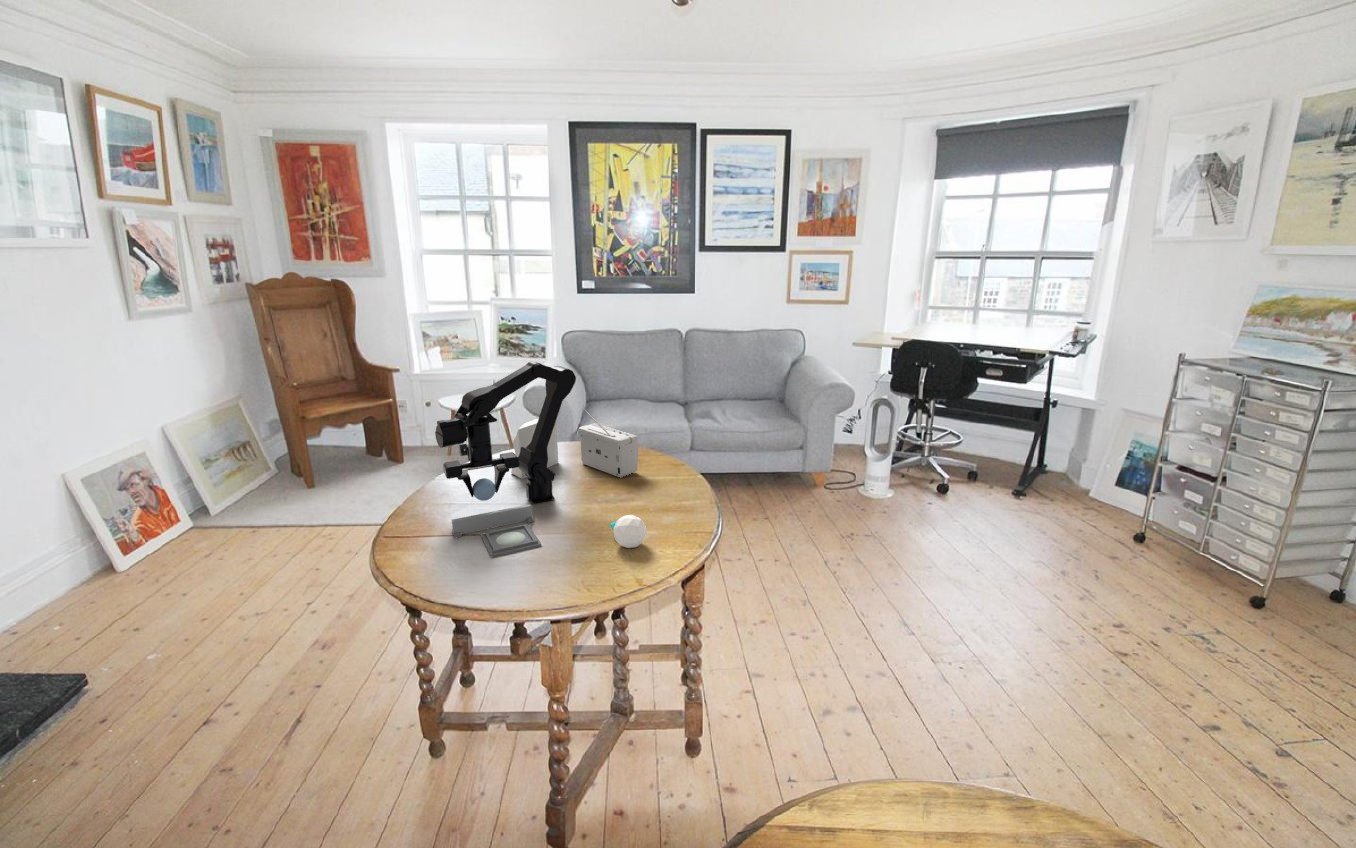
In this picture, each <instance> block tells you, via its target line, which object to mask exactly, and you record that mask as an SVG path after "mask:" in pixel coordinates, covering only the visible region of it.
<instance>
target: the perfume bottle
mask: <svg viewBox="0 0 1356 848" xmlns="http://www.w3.org/2000/svg"><path fill="white" fill-rule="evenodd" d="M610 528H611V529H612V530H613V538H614V540H615V541H616V542H617V544H618V545H619V546H621V547H624V548H626V549H631V548H633V549H634V548H637V547H639V546H640V545H641V544H642V543H643V542H644V540H645V538H646V535H647V527H646V523H644V521H643V520H642V519H641V517H638V516H636V515H634V514H629V515H628V514H627V515H622V517H620V518H619V519H617V520H616V521H613V522H611V523H610Z"/></svg>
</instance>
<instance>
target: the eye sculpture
mask: <svg viewBox="0 0 1356 848" xmlns="http://www.w3.org/2000/svg"><path fill="white" fill-rule="evenodd" d="M538 419H539V418H535V419H532V420H530V421H527V422H525V423H523V424H522V425H521V426H520V427H519V428H518V430H517V432H516V434H515V436H514V438H513V440H512V446H513V450H514V454H515V455H516V456H517V457H518V456H519V454H520V449H521V447H522V446H523V447H525V448H526V447H527V446H528V445H529V444H530V443H531V440H532V437H533V434H534V431H535V428H536V425H537V422H538ZM547 453H548V463H547V468H548V469H549V467H552V466H554V465H557V464H558V463H559V448H558V428H557V421H556V422H555V426H554V429H553V432H552V435H551V438H550V441H549V444H548V447H547ZM510 473H511V474H512V475H514V476H516V477H518V478H519V479H522V480H523V479H525V478H529V477H528V476H526V475H525V473H524V472H522V471H521V470H520V469H519V467H517V468H511V471H510Z"/></svg>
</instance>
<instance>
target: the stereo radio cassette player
mask: <svg viewBox="0 0 1356 848" xmlns="http://www.w3.org/2000/svg"><path fill="white" fill-rule="evenodd" d="M582 410H584V411H585V412H586V413H587V415H588V416H589V417H590V418H591V419H592V420H593V421H594V423H590V424H586V425H582V426H580V427H578V433H579V434H580V455H581V457H580V460H581V462H582V464H583V465H584V466H588V467H591V468H594V469H596V470H599V471H602V472H604V473H607V474H609V475H612V476H615V477H618V478H619V477H620V478H619V479H621V478H624V477H627V476H630V475H632V474H631V473H633V474H635V473H636V472H637V471H638V469H639V467H638V466H639V440H638V436H637V435H635V434H632V433H628V432H625V431H621V430H618V429H616V428H613V427H610V426H609V427H608V426H605V425H601V423H599V421H597V420H596V419H595V418H594V417H593V416H592V415H591V414H590V413H589V412H588V411H587V410H586V408H585V407H582ZM634 472H635V473H634ZM629 474H630V475H629ZM626 475H627V476H626ZM623 476H624V477H623Z"/></svg>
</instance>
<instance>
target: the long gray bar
mask: <svg viewBox="0 0 1356 848" xmlns="http://www.w3.org/2000/svg"><path fill="white" fill-rule="evenodd" d="M532 509H533V508H532V504H530V503H529V504H525V505H524V504H523V505H520V506H514V507H508V508H503V509H499V510H494V511H487V512H483V513H478V514H473V515H469V516H468V515H467V516H463V517H459V518H458V517H457V518H452V519H451V532H452V535H453V537H454V539H457V538H458V539H459V538H462V535H465V534H470V533H474V532H478V531H485V530H490V529H494V528H499V527H503V526H507V525H513V524H516V523H522V522H526V523H528V524H529V523H533V522H534V521H535V520H534V517H533V510H532Z"/></svg>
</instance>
